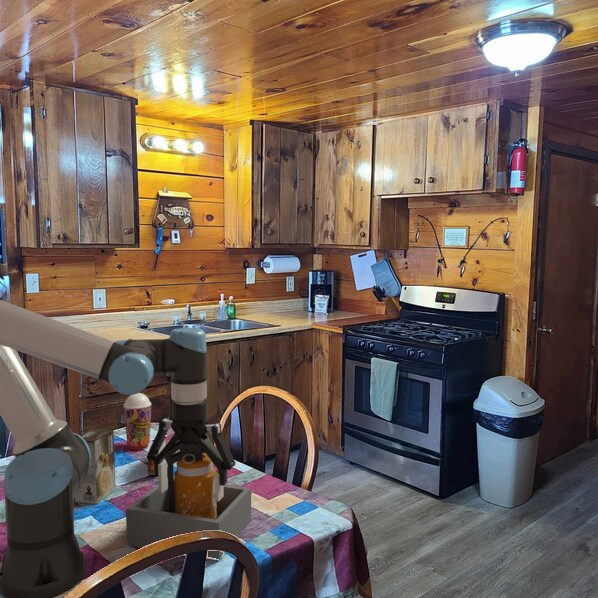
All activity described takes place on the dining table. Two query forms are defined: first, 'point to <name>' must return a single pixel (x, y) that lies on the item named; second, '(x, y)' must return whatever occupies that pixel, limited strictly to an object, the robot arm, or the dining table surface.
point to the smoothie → (137, 421)
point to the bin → (185, 517)
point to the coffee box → (98, 467)
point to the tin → (151, 463)
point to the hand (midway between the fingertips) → (190, 495)
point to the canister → (191, 481)
